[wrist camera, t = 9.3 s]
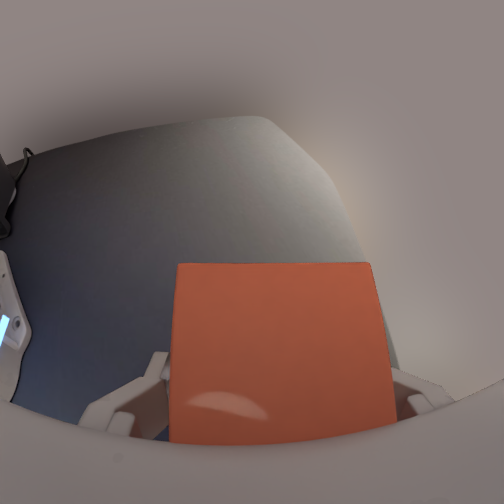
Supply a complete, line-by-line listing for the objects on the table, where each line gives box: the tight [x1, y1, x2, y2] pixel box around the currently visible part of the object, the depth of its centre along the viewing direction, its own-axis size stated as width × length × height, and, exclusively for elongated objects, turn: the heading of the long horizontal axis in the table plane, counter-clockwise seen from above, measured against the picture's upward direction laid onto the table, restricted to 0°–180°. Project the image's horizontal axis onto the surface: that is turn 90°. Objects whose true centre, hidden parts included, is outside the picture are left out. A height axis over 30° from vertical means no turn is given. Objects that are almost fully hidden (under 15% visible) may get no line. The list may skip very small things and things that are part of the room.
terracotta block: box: [169, 262, 397, 446], centre depth 9 cm, size 5×5×10 cm
